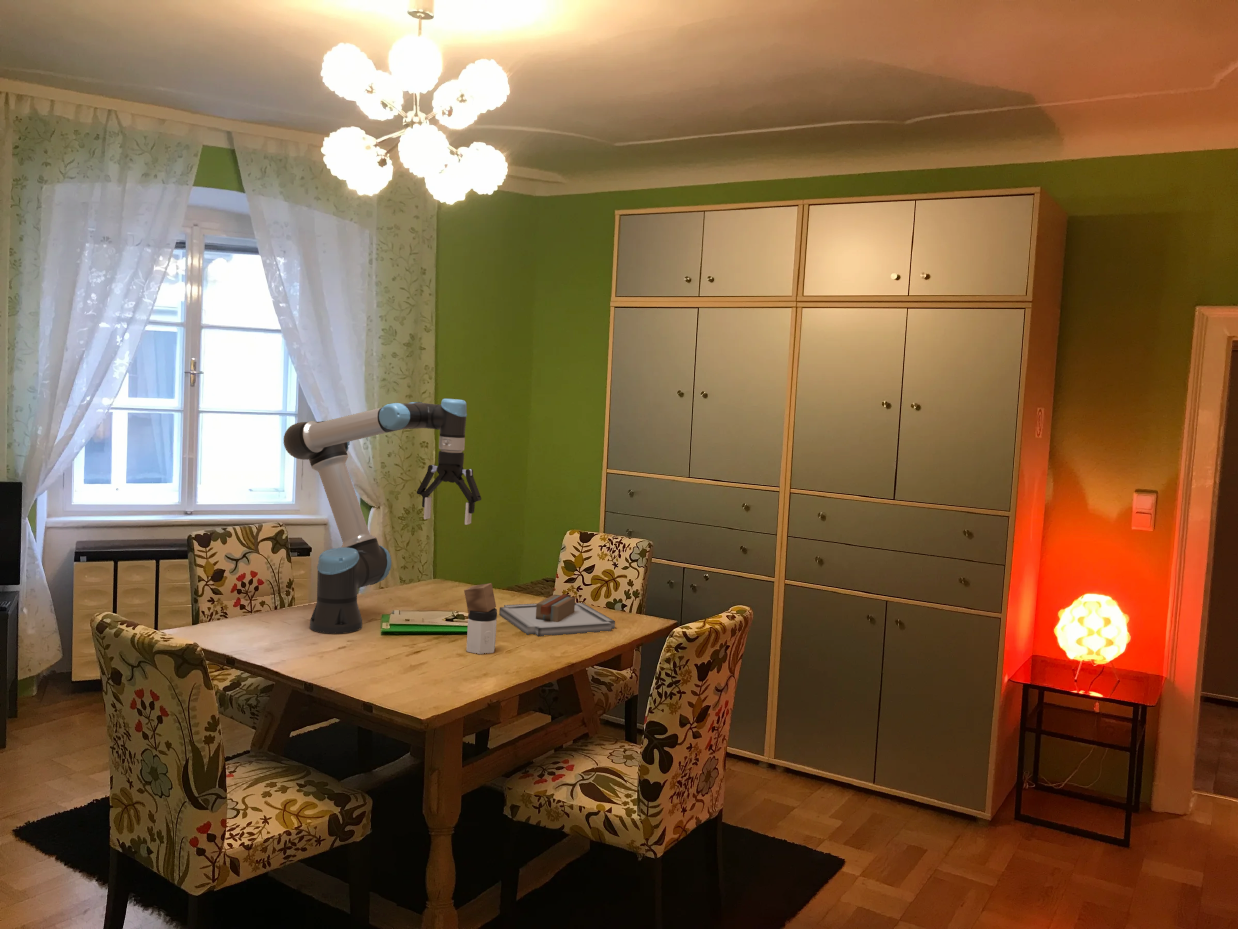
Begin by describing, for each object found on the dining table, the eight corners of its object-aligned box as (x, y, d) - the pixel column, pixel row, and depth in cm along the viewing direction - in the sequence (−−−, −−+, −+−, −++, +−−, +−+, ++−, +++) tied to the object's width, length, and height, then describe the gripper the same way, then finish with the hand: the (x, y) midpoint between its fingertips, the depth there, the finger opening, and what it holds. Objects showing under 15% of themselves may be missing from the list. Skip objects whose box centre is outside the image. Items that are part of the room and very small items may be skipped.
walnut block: (468, 614, 280) (464, 590, 279) (477, 609, 285) (472, 585, 285) (487, 612, 278) (483, 587, 277) (496, 606, 284) (491, 583, 283)
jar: (472, 655, 277) (474, 613, 276) (460, 648, 283) (462, 607, 282) (501, 652, 282) (503, 611, 281) (488, 644, 288) (490, 604, 287)
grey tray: (618, 632, 313) (619, 609, 313) (530, 639, 300) (531, 614, 299) (578, 610, 340) (580, 588, 339) (496, 614, 326) (497, 592, 325)
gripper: (407, 447, 293) (404, 517, 295) (484, 455, 286) (479, 527, 288) (420, 446, 301) (416, 514, 303) (495, 454, 293) (490, 524, 295)
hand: (447, 521), depth 295 cm, fingers open, 13 cm apart
